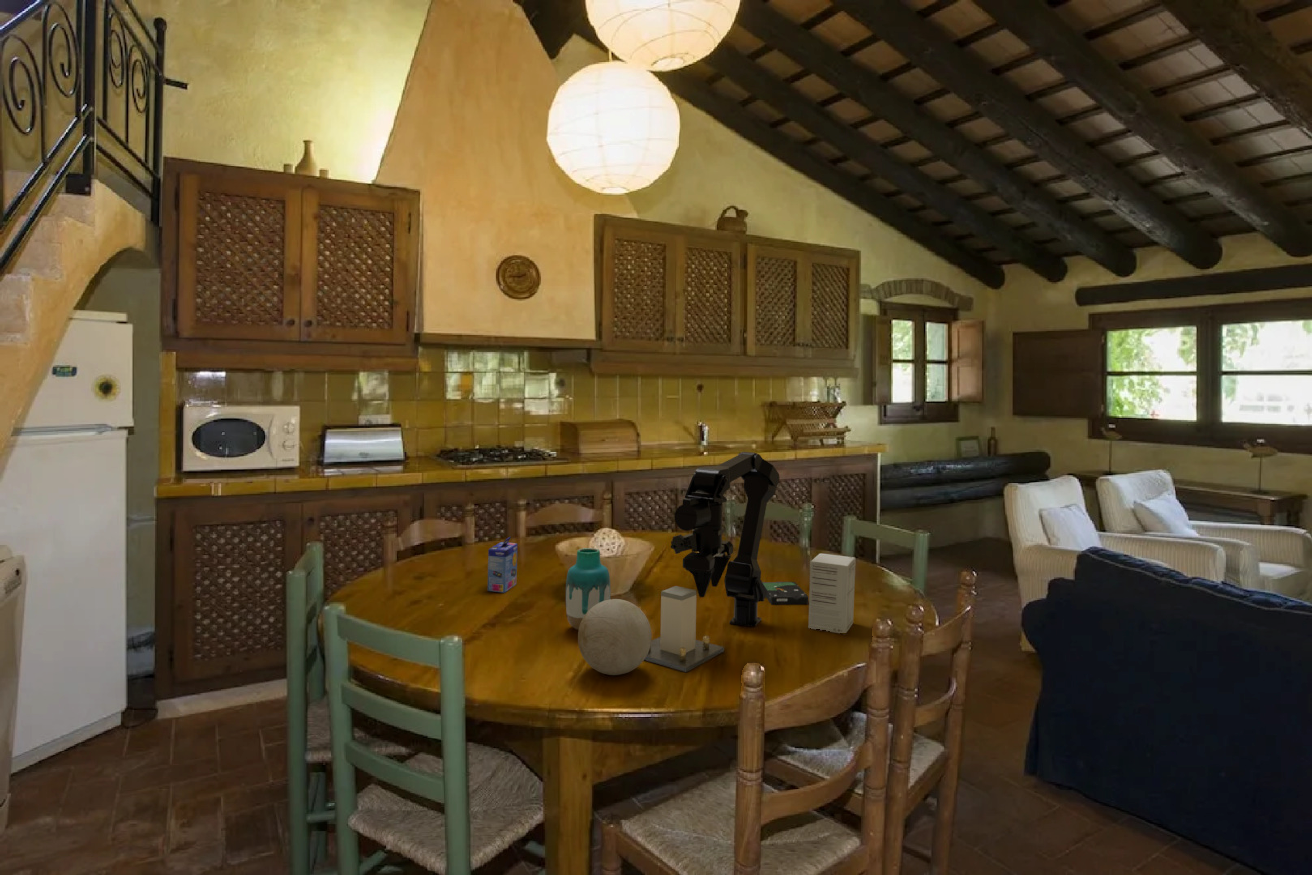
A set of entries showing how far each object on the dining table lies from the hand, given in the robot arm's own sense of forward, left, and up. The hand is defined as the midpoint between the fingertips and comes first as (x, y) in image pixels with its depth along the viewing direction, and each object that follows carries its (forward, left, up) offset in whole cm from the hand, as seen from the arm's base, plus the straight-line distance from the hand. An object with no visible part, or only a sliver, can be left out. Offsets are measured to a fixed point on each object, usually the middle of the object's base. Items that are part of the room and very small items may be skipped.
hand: (708, 591), depth 171 cm
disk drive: (-44, +8, -13) cm, 46 cm away
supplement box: (-24, +24, -12) cm, 36 cm away
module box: (+9, -4, -11) cm, 15 cm away
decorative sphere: (+24, -12, -12) cm, 29 cm away
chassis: (+9, -4, -12) cm, 16 cm away
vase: (+3, -29, -12) cm, 32 cm away
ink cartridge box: (-18, -67, -12) cm, 70 cm away
